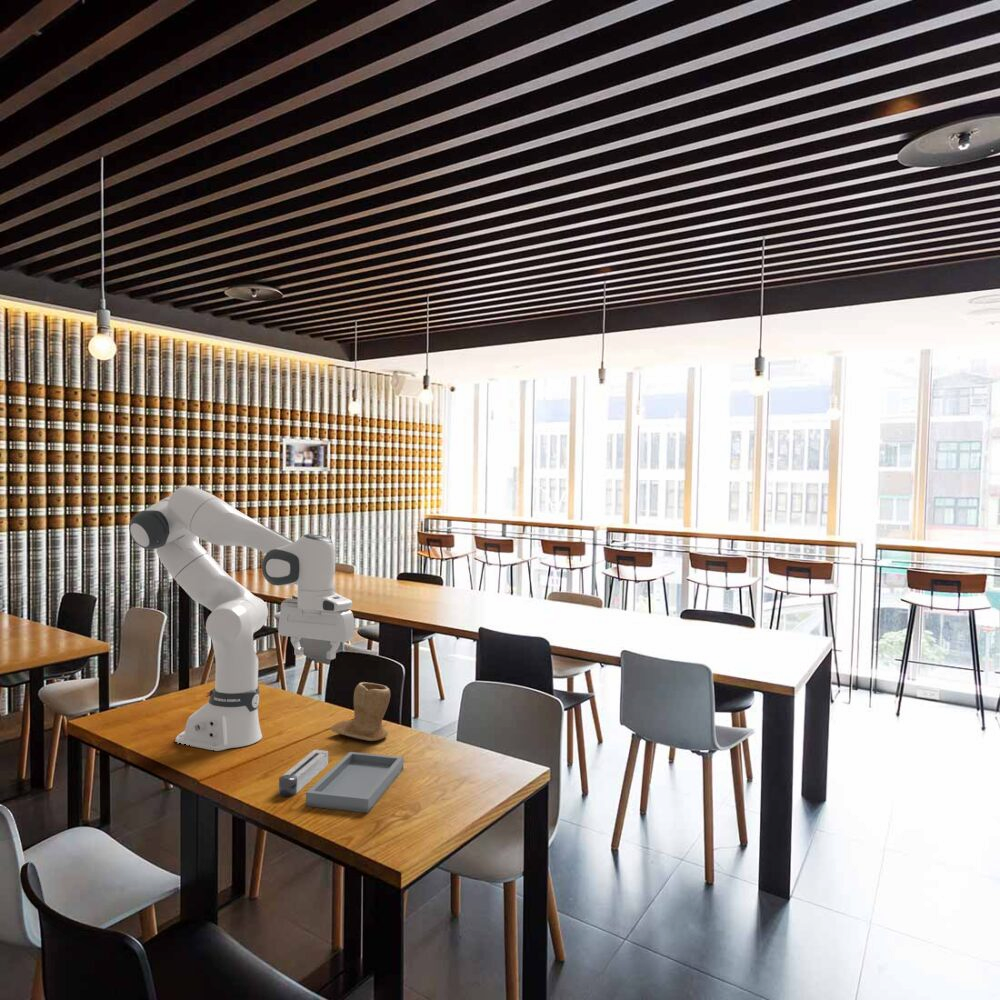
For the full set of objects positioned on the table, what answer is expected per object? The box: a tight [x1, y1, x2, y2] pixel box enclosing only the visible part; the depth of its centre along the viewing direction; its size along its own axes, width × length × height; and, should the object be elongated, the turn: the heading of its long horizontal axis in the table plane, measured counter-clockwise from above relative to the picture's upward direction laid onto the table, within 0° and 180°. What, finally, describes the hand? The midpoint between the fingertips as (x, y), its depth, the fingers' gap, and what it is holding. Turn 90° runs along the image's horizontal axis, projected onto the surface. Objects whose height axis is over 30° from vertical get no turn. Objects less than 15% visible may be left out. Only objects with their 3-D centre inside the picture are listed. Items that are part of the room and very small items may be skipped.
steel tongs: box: [278, 749, 329, 798], centre depth 166 cm, size 4×20×4 cm, turn 170°
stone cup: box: [330, 681, 391, 742], centre depth 197 cm, size 15×12×15 cm
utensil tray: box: [305, 751, 405, 814], centre depth 163 cm, size 14×25×3 cm, turn 170°
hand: (314, 656), depth 170 cm, fingers open, 8 cm apart
